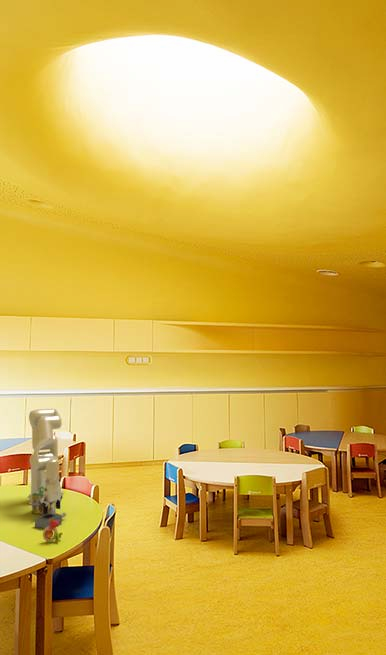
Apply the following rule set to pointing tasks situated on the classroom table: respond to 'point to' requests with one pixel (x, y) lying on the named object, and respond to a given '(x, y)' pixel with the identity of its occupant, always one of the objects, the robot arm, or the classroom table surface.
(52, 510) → the key peg
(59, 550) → the classroom table surface
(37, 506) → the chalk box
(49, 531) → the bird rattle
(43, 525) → the chuck block
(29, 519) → the classroom table surface
